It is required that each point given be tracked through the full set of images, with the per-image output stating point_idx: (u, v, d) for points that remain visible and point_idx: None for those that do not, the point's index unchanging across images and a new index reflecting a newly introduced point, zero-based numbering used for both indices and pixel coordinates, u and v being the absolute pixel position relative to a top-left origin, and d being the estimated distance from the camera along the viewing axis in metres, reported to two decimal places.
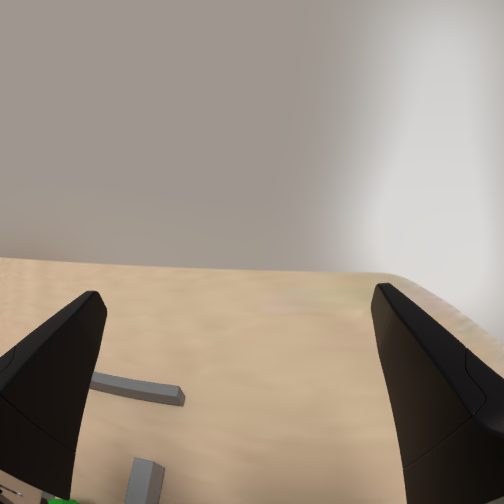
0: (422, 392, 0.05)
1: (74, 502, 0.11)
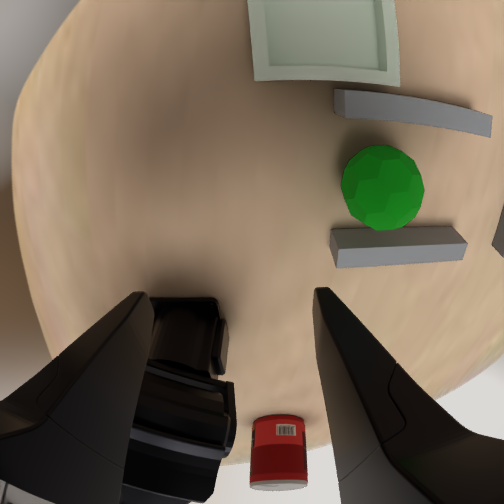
0: (344, 406, 0.05)
1: None
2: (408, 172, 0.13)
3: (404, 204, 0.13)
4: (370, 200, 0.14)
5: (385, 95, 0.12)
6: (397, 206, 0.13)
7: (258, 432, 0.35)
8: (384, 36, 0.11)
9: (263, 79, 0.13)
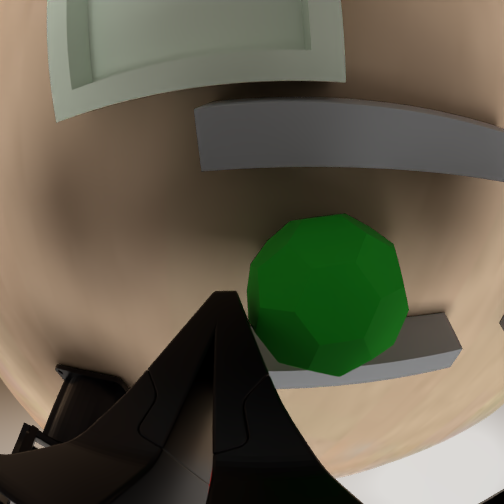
0: None
1: None
2: (373, 293, 0.06)
3: (353, 356, 0.07)
4: (282, 345, 0.07)
5: (298, 106, 0.06)
6: (337, 360, 0.07)
7: None
8: None
9: (66, 116, 0.06)
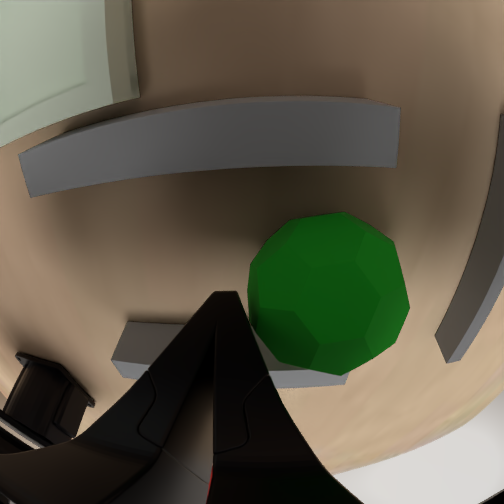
0: None
1: None
2: (373, 291, 0.06)
3: (354, 355, 0.06)
4: (283, 344, 0.07)
5: (67, 139, 0.06)
6: (338, 360, 0.07)
7: None
8: (81, 18, 0.05)
9: None
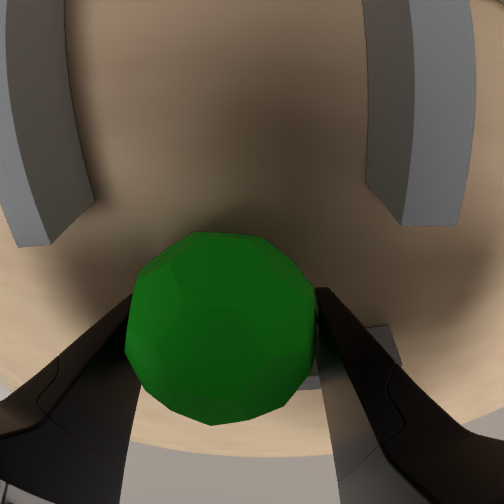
0: (343, 406, 0.05)
1: None
2: (287, 399, 0.06)
3: (214, 417, 0.05)
4: (195, 352, 0.05)
5: None
6: (205, 409, 0.05)
7: None
8: None
9: None
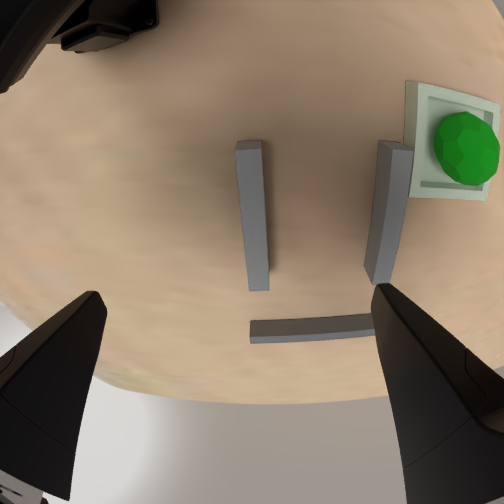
0: (422, 392, 0.05)
1: (464, 183, 0.15)
2: (496, 169, 0.13)
3: (488, 165, 0.12)
4: (486, 134, 0.11)
5: (408, 184, 0.16)
6: (488, 158, 0.12)
7: None
8: (443, 187, 0.17)
9: (419, 89, 0.13)
